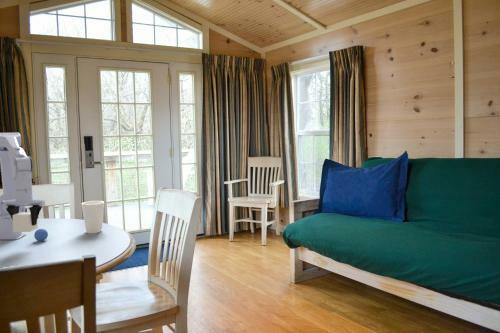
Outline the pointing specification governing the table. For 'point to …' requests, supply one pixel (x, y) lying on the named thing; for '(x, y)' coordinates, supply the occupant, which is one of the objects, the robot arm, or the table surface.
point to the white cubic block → (23, 222)
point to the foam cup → (93, 215)
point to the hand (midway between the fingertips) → (25, 224)
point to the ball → (41, 234)
